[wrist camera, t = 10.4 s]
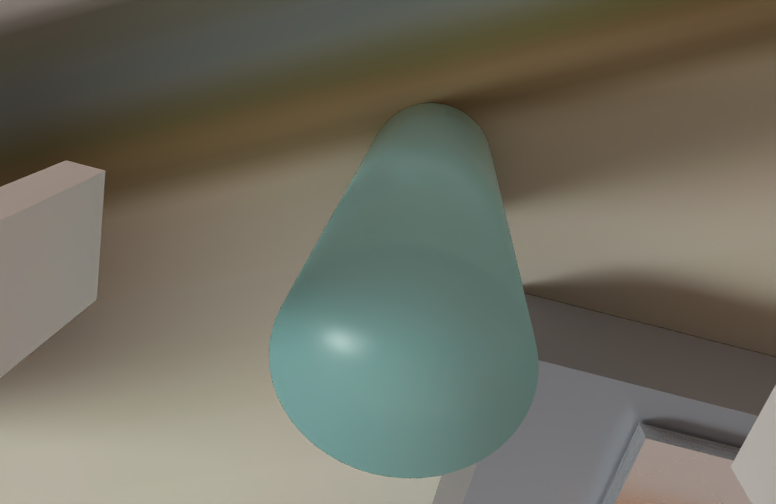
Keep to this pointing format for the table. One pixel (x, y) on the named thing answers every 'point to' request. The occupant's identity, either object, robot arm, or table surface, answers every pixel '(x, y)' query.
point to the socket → (610, 405)
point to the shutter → (675, 471)
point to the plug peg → (410, 309)
